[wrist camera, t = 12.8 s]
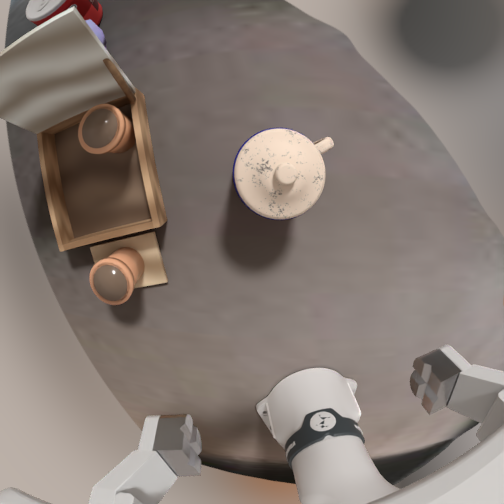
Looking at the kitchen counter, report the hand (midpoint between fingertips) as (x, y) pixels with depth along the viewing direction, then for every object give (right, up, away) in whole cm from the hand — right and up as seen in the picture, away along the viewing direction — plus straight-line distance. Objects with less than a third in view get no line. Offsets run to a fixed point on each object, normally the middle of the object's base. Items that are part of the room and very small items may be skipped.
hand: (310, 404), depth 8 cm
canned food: (-28, +39, +17) cm, 51 cm away
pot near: (-19, +20, +22) cm, 35 cm away
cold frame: (-22, +17, +23) cm, 36 cm away
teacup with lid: (+1, +16, +26) cm, 31 cm away
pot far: (-19, +3, +27) cm, 33 cm away
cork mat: (-19, +4, +28) cm, 34 cm away
